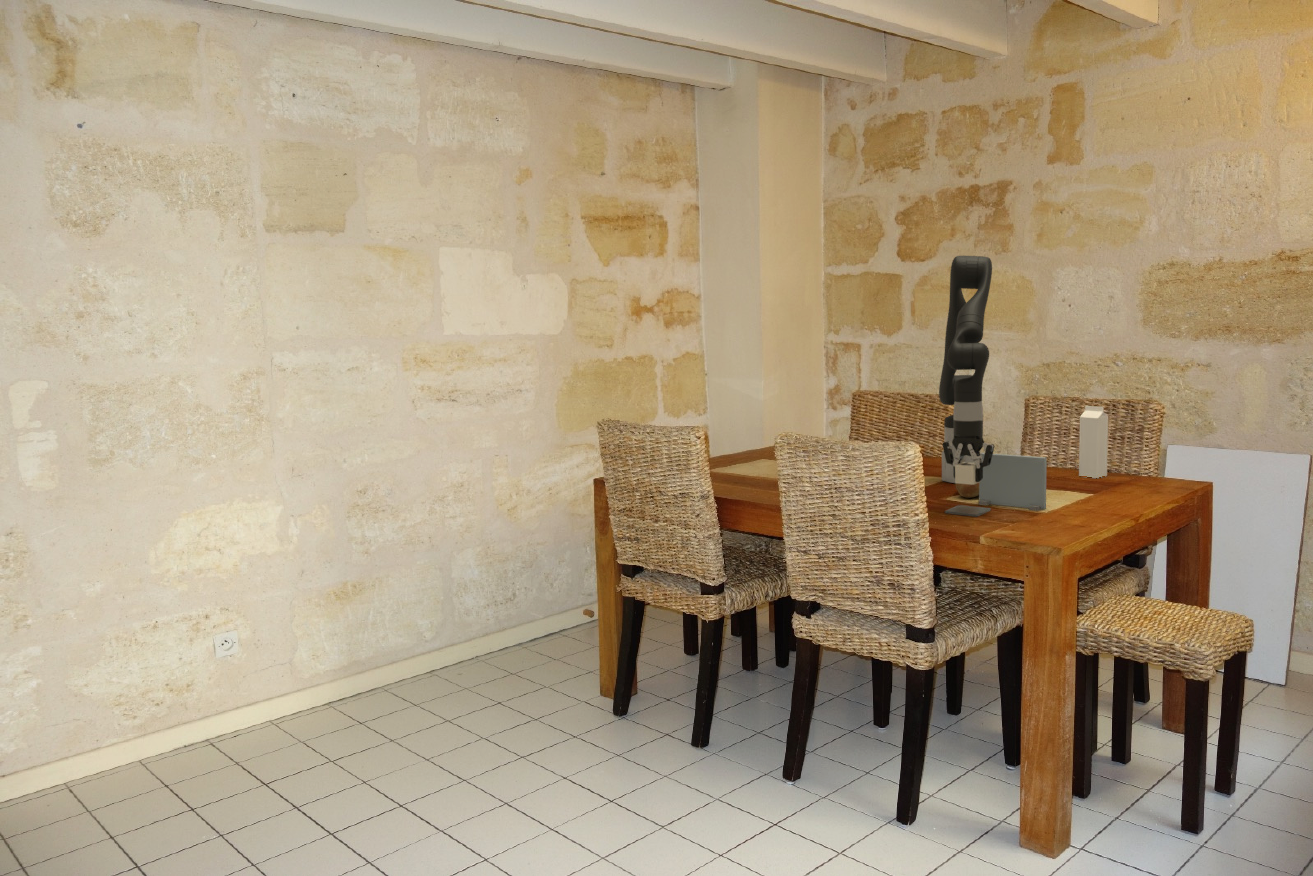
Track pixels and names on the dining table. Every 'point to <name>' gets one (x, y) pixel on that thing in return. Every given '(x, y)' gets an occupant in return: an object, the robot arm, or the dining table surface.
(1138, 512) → the dining table surface
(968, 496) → the bread roll
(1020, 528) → the dining table surface
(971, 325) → the robot arm
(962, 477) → the letter cube
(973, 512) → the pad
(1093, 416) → the milk
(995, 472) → the screen
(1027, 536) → the dining table surface
